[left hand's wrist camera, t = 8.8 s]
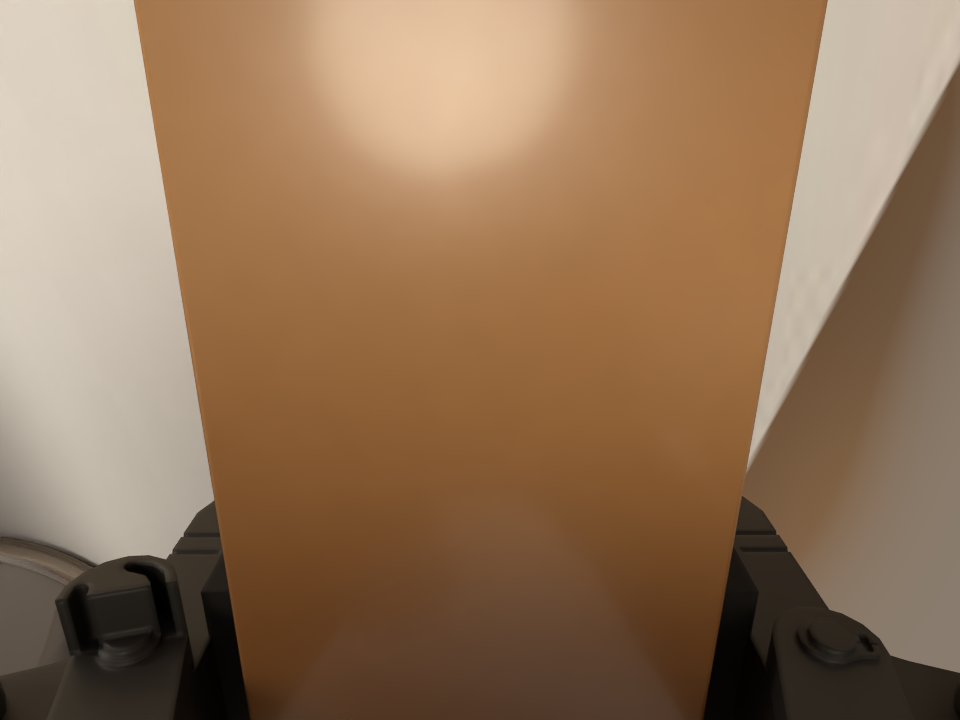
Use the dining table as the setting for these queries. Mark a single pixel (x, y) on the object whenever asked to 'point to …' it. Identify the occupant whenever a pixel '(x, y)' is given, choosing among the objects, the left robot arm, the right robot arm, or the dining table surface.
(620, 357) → the post
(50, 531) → the dining table surface
